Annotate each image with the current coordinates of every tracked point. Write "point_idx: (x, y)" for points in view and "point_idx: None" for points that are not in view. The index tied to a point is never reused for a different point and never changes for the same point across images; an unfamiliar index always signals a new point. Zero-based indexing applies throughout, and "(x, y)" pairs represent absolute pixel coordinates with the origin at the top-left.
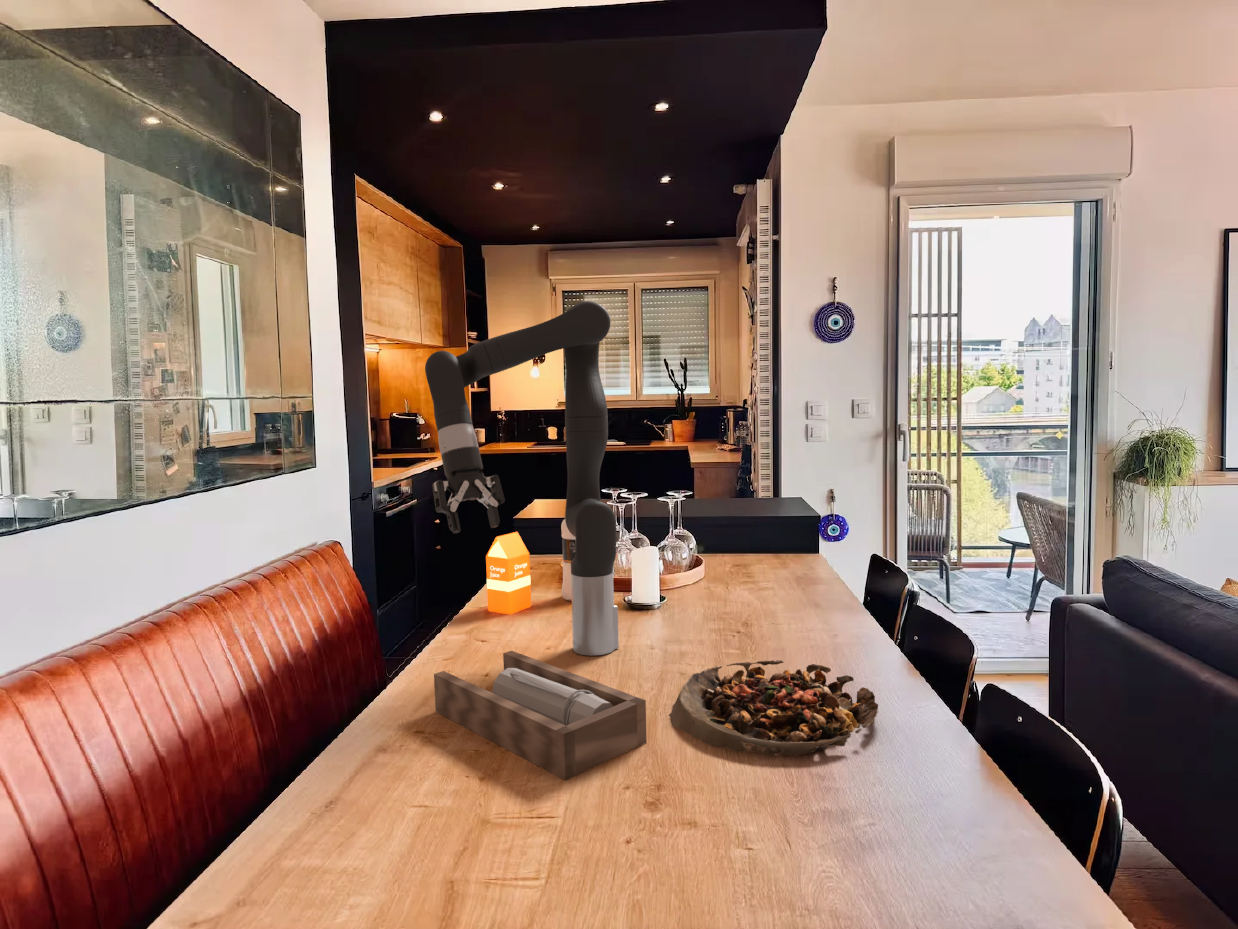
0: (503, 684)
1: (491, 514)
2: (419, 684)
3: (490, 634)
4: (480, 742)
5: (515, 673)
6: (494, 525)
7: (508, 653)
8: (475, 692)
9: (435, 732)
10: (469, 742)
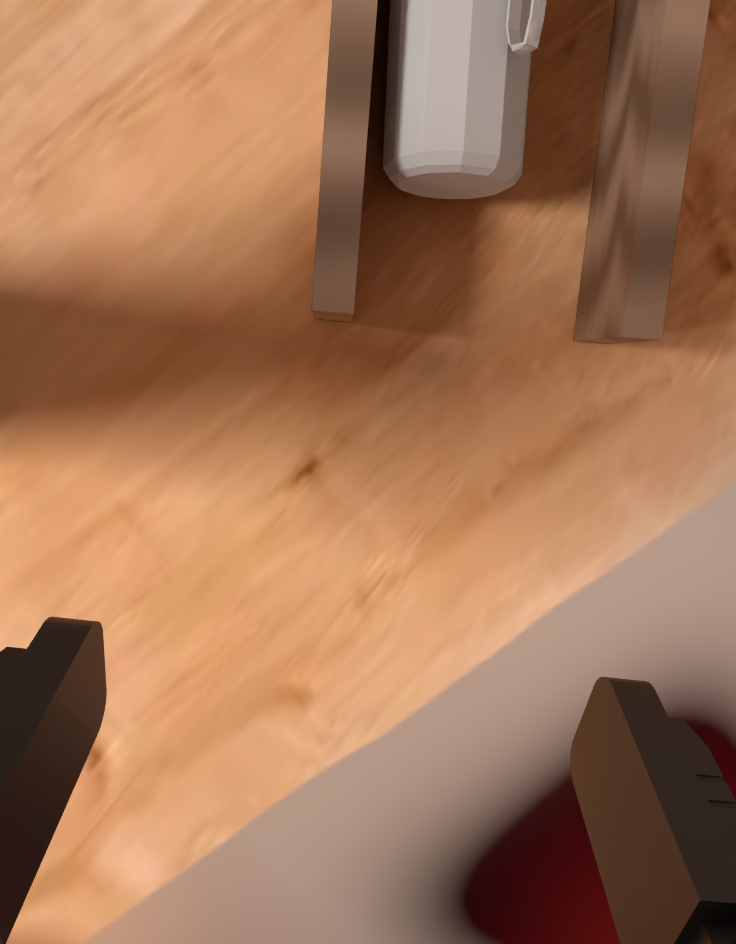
0: (522, 109)
1: (33, 790)
2: (496, 573)
3: None
4: None
5: (543, 2)
6: (95, 651)
7: (343, 291)
8: (699, 53)
9: (699, 218)
10: None
